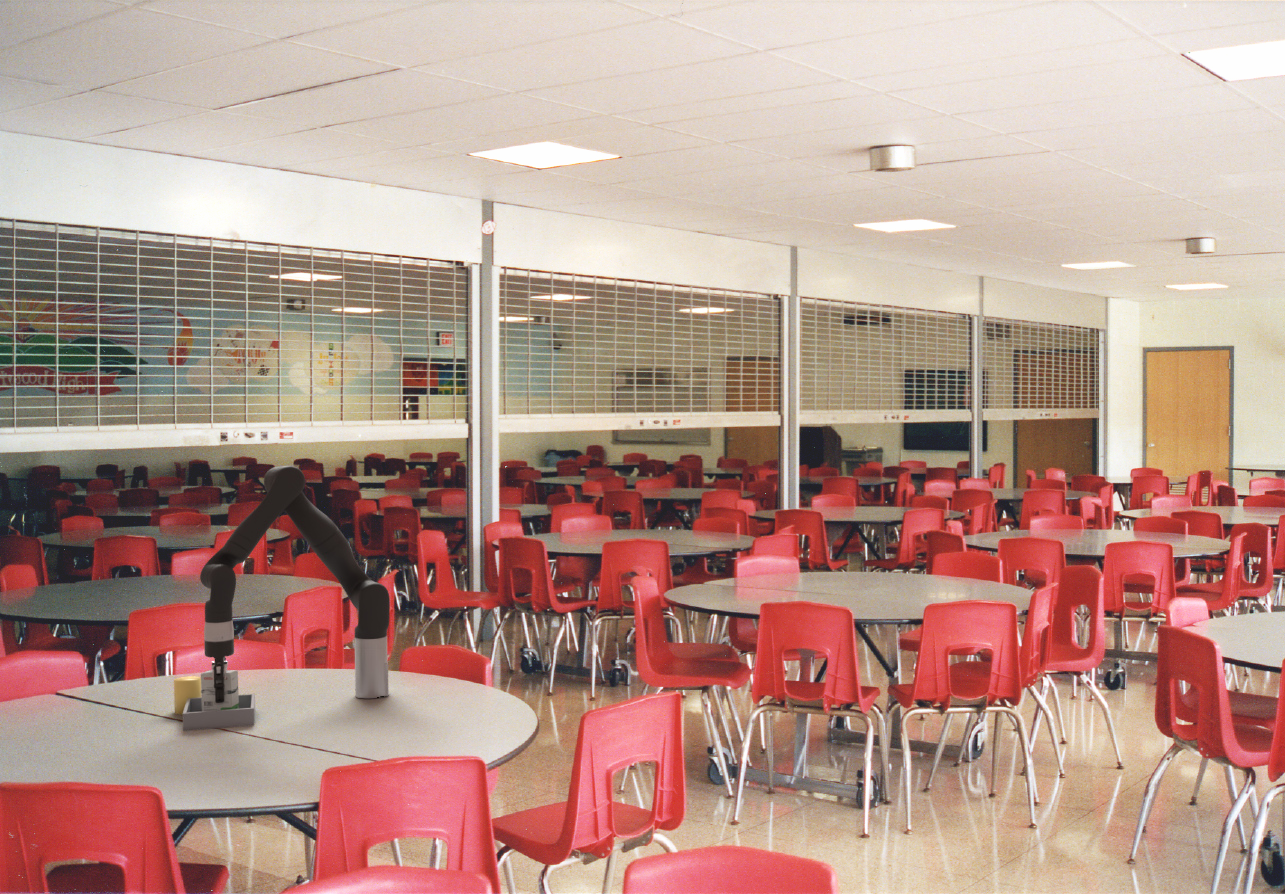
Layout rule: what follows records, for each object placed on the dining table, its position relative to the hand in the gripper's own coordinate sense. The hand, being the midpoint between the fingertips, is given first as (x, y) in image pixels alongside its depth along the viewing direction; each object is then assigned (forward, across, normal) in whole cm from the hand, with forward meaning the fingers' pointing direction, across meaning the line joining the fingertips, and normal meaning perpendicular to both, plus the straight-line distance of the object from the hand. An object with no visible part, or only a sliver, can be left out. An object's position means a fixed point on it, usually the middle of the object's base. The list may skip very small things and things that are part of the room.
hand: (220, 699), depth 327 cm
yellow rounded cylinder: (+6, +13, +9) cm, 17 cm away
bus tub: (+6, 0, 0) cm, 6 cm away
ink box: (+4, 0, 0) cm, 4 cm away
